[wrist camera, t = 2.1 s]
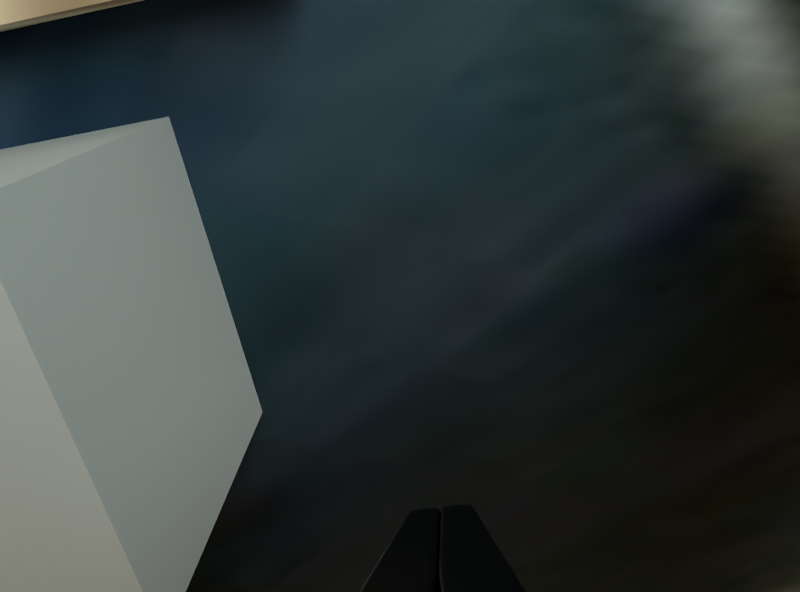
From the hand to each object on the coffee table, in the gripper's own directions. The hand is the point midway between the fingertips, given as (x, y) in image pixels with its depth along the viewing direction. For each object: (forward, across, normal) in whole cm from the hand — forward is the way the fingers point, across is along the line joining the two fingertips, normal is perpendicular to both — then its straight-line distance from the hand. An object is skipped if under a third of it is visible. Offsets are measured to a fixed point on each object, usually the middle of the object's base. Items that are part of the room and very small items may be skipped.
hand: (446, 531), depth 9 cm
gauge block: (+12, +11, 0) cm, 16 cm away
